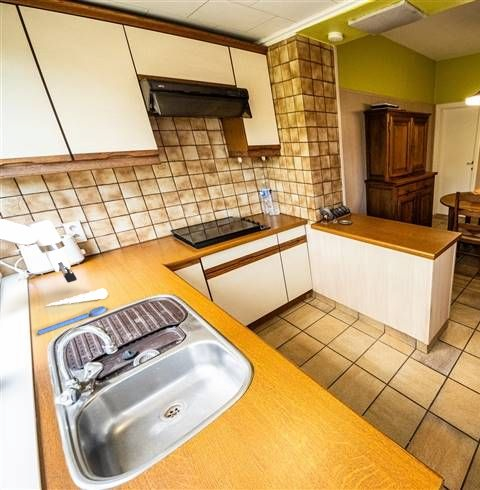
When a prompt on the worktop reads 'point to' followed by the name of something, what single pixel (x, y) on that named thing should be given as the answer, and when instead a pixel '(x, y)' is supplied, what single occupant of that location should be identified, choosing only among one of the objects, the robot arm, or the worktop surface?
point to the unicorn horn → (82, 297)
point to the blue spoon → (74, 319)
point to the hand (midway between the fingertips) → (72, 280)
